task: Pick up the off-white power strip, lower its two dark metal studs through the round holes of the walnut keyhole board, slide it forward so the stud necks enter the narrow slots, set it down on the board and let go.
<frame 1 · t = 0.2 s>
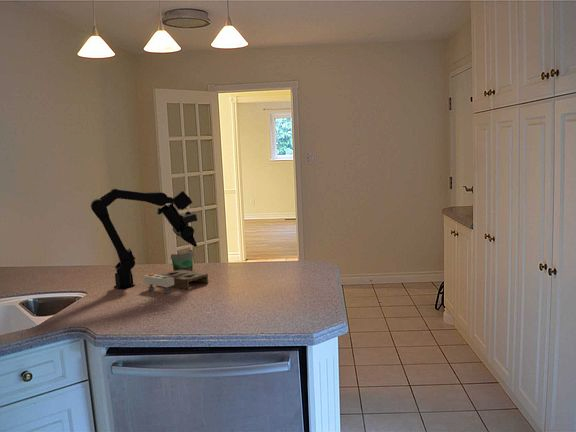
hand: (193, 244, 232), 15 cm above the counter, tool tilted 30°, fingers open, 9 cm apart
keyhole board: (183, 283, 223), on the counter
food container: (186, 274, 241), on the counter
power strip: (159, 290, 213), on the counter
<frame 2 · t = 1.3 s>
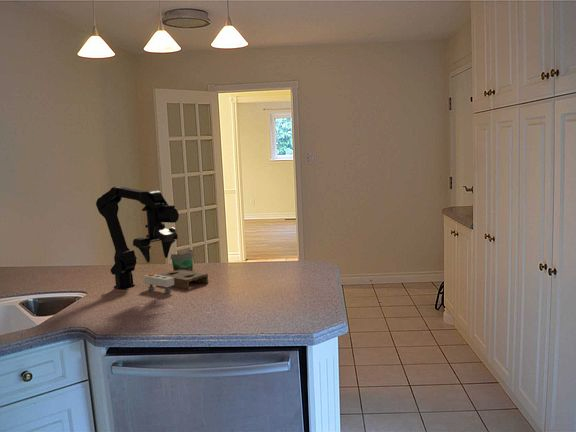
hand: (157, 260, 211), 13 cm above the counter, tool pointing down, fingers open, 9 cm apart
nothing on the counter moved.
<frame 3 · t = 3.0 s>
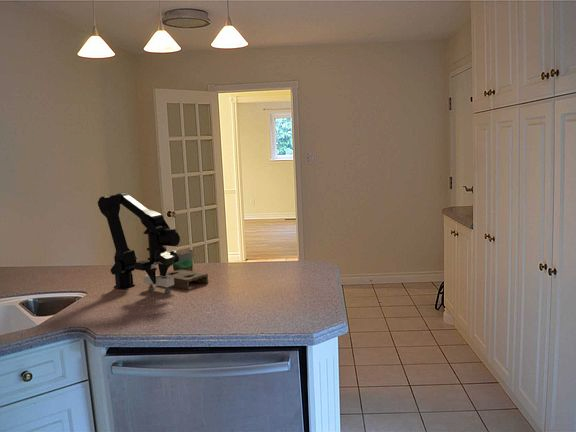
hand: (158, 282, 212), 4 cm above the counter, tool pointing down, fingers closed on power strip, 4 cm apart
power strip: (159, 290, 213), on the counter, touching gripper
everything else where it was.
when the fingers open (5 cm above the counter, at t = 7.4 s): power strip stays where it is, resting on keyhole board.
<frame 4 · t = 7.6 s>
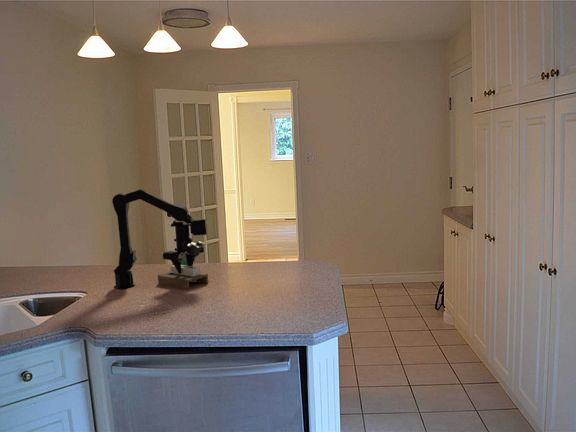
hand: (185, 271, 224), 5 cm above the counter, tool pointing down, fingers open, 6 cm apart
power strip: (185, 280, 224), point 1 cm above the counter, touching keyhole board
everything else where it was.
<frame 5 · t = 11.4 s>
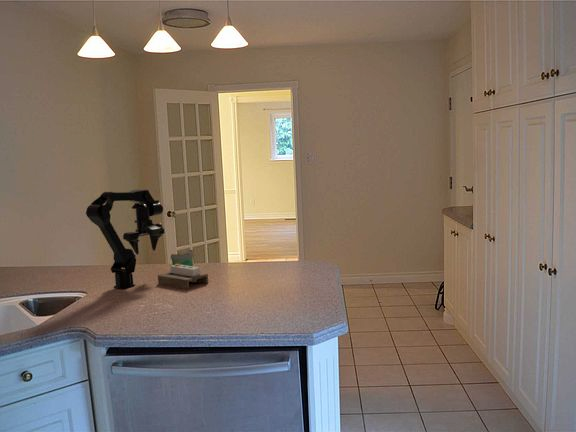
hand: (145, 252, 232), 12 cm above the counter, tool pointing down, fingers open, 9 cm apart
nothing on the counter moved.
at the end: power strip 0.2 cm from the target spot on the keyhole board, point 1.0 cm above the keyhole board's base; the gripper is holding nothing; power strip tilted 0° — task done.
